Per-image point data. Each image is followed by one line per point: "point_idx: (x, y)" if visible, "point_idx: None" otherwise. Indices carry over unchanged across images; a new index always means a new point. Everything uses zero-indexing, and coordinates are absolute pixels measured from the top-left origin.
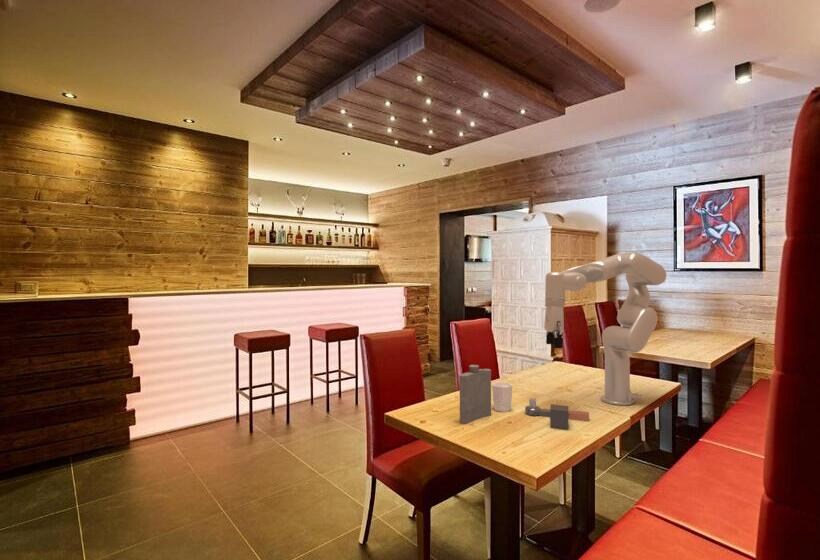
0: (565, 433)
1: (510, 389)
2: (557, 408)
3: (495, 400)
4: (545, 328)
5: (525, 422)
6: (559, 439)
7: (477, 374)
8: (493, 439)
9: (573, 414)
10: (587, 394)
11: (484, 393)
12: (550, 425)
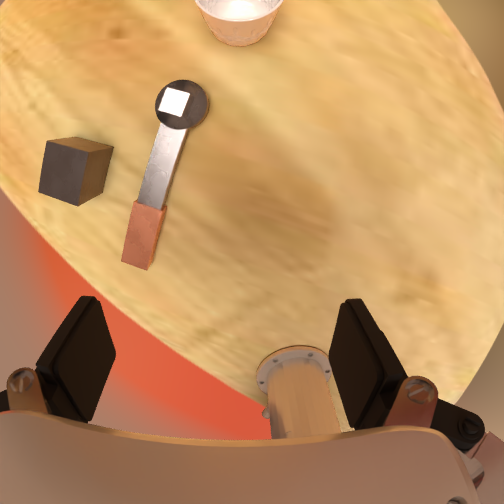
0: None
1: (207, 16)
2: (55, 165)
3: None
4: (353, 458)
5: (112, 74)
6: (21, 147)
7: None
8: (33, 14)
9: (129, 221)
10: None
11: None
12: (72, 137)
